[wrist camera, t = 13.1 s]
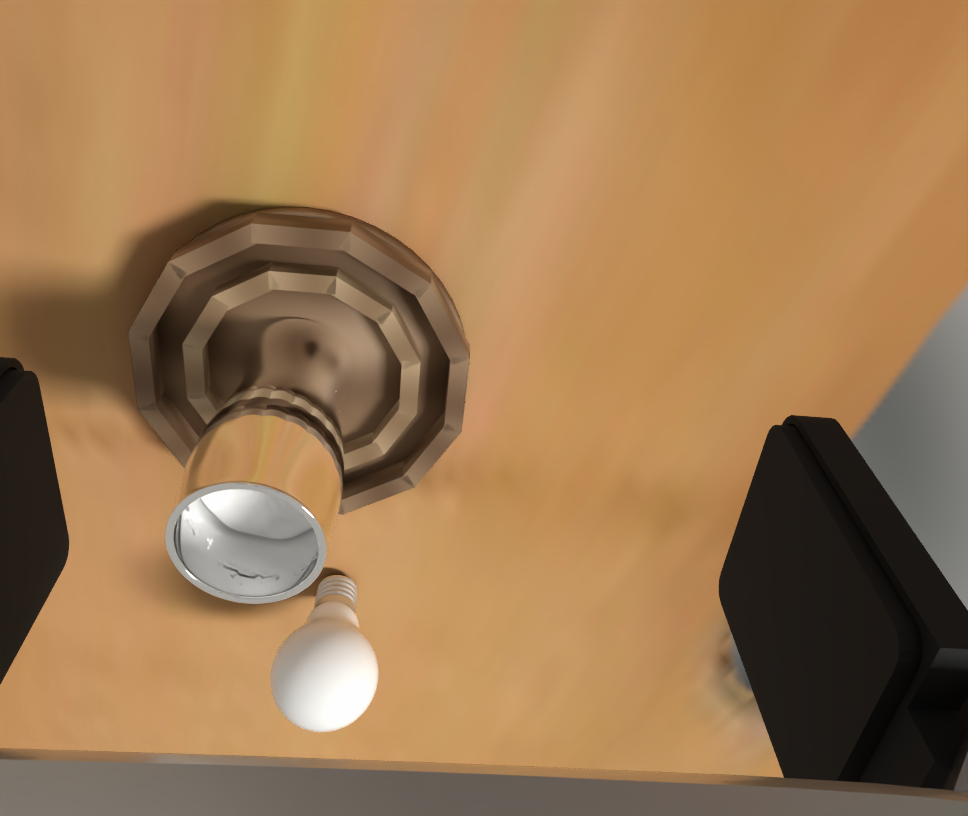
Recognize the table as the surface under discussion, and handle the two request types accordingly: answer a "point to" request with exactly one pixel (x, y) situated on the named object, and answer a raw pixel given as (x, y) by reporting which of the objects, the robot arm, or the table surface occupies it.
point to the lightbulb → (326, 663)
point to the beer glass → (267, 470)
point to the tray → (320, 298)
